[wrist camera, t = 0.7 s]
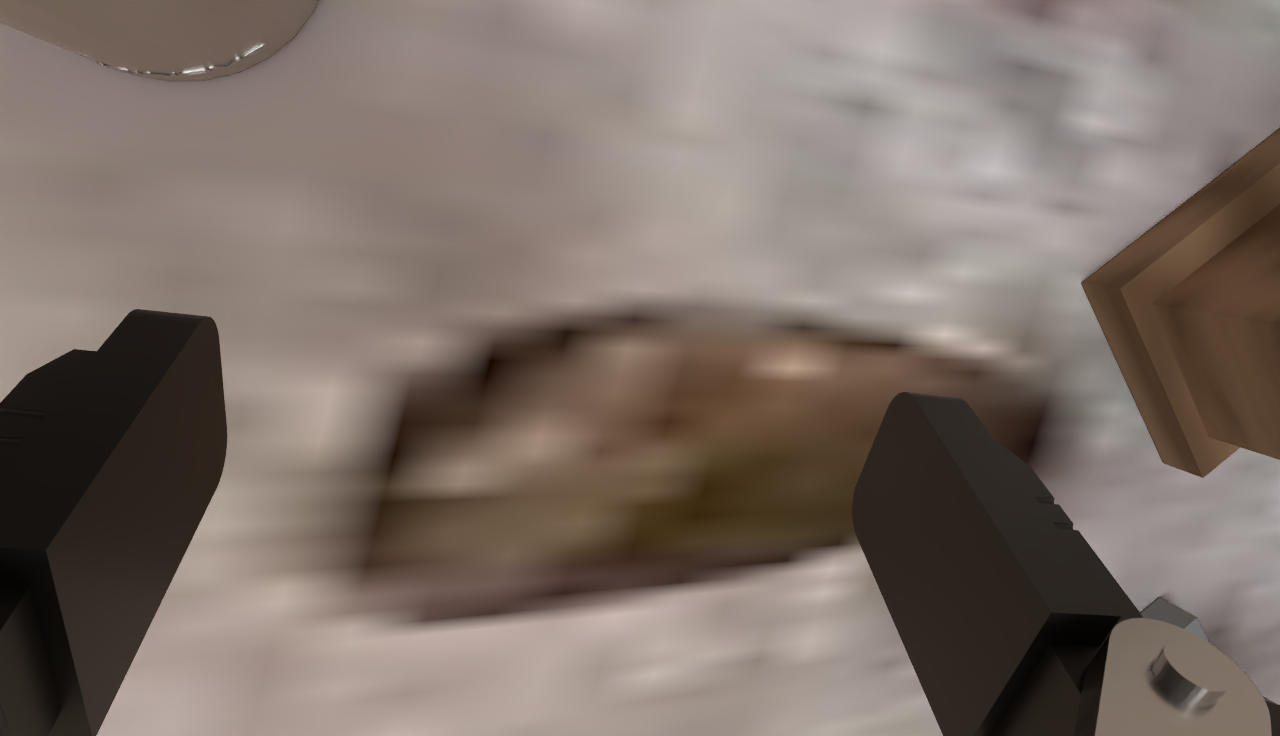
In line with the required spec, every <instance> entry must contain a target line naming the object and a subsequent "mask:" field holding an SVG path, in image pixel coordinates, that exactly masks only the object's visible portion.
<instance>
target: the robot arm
mask: <svg viewBox="0 0 1280 736" xmlns="http://www.w3.org/2000/svg"><path fill="white" fill-rule="evenodd" d="M317 3H318V0H0V23H2V24H5V25H7V26H10V27H12V28H15V29H17V30H20V31H22V32H25V33H27V34H30V35H32V36H35V37H37V38H40V39H42V40H45V41H47V42H49V43H52V44H54V45H57V46H59V47H62V48H64V49H67V50H69V51H72V52H74V53H77V54H80V55H82V56H85V57H87V58H90V59H92V60H95V61H97V63H98V64H100V65H103V66H106V67H109V68H113V69H117V70H120V71H124V72H127V73H129V74H133V75H138V76H144V77H149V78H155V79H161V80H166V81H192V80H208V79H213V78H217V77H221V76H225V75H230V74H234V73H238V72H241V71H243V70H245V69H247V68H249V67H251V66H253V65H255V64H257V63H259V62H261V61H263V60H265V59H267V58H269V57H270V56H272V55H273V54H274V53H275V52H277V51H278V50H279V49H280V48H281V47H283V46H284V45H285V44H286V43H288V42H289V41H290V40H291V39H292V38H294V37H295V35H296V34H297V33H298V31H299V30H300V29H301V27H302V26H303V25H304V23H305V22H306V21H307V19H308V18H309V17H310V15H311V14H312V13H313V12H314V9H315V7H316V5H317ZM226 448H227V424H226V413H225V402H224V390H223V379H222V367H221V356H220V344H219V335H218V330H217V326H216V323H215V322H214V320H213V319H212V318H211V317H206V316H197V315H188V314H178V313H169V312H159V311H150V310H140V309H136V310H133V311H131V312H130V313H129V314H128V315H127V316H126V317H125V318H124V320H123V321H122V322H121V323H120V324H119V326H118V327H117V328H116V329H115V330H114V332H113V333H112V334H111V335H110V336H109V338H108V339H107V340H106V341H105V342H104V344H103V345H102V346H101V347H100V348H99V350H98V351H86V350H76V349H74V350H72V351H70V352H68V353H66V354H64V355H62V356H60V357H59V358H57V359H55V360H53V361H51V362H49V363H47V364H45V365H44V366H42V367H40V368H38V369H36V370H34V371H32V372H30V373H29V374H27V375H26V376H25V377H24V378H23V379H22V380H21V381H20V382H19V383H18V384H17V386H16V387H15V388H14V389H13V390H12V391H11V392H10V393H9V394H8V395H7V396H6V397H5V399H4V400H3V401H2V402H1V403H0V736H96V735H97V733H98V731H99V729H100V727H101V725H102V723H103V721H104V719H105V717H106V714H107V712H108V710H109V708H110V706H111V704H112V702H113V700H114V698H115V696H116V694H117V692H118V690H119V688H120V686H121V684H122V682H123V680H124V677H125V675H126V673H127V671H128V669H129V667H130V665H131V663H132V661H133V659H134V657H135V655H136V653H137V651H138V649H139V647H140V645H141V643H142V640H143V638H144V636H145V634H146V632H147V630H148V628H149V626H150V624H151V622H152V620H153V618H154V616H155V614H156V612H157V610H158V608H159V605H160V603H161V601H162V599H163V597H164V595H165V593H166V591H167V589H168V587H169V585H170V583H171V581H172V579H173V577H174V575H175V573H176V571H177V568H178V566H179V564H180V562H181V560H182V558H183V556H184V554H185V552H186V550H187V548H188V546H189V544H190V542H191V540H192V538H193V536H194V534H195V531H196V529H197V527H198V525H199V523H200V521H201V519H202V517H203V515H204V513H205V511H206V509H207V507H208V505H209V503H210V501H211V499H212V496H213V494H214V492H215V490H216V488H217V486H218V484H219V481H220V478H221V475H222V471H223V467H224V462H225V456H226ZM852 517H853V525H854V530H855V533H856V536H857V538H858V541H859V543H860V545H861V548H862V550H863V552H864V554H865V557H866V559H867V561H868V564H869V566H870V568H871V571H872V573H873V575H874V577H875V580H876V582H877V584H878V587H879V589H880V591H881V594H882V596H883V598H884V600H885V603H886V605H887V607H888V610H889V612H890V614H891V617H892V619H893V621H894V623H895V626H896V628H897V630H898V633H899V635H900V637H901V640H902V642H903V644H904V646H905V649H906V651H907V653H908V656H909V658H910V660H911V663H912V665H913V667H914V669H915V672H916V674H917V676H918V679H919V681H920V683H921V686H922V688H923V690H924V692H925V695H926V697H927V699H928V702H929V704H930V706H931V709H932V711H933V713H934V715H935V718H936V720H937V722H938V725H939V727H940V729H941V732H942V734H943V736H1280V705H1277V704H1274V703H1271V702H1268V701H1265V700H1264V698H1263V696H1262V694H1261V693H1260V691H1259V689H1258V688H1257V686H1256V685H1255V684H1254V683H1253V681H1252V680H1251V679H1250V677H1249V676H1248V675H1247V674H1246V673H1245V672H1244V671H1243V670H1242V669H1241V668H1240V667H1239V666H1238V665H1237V664H1236V663H1235V662H1234V661H1232V660H1231V659H1230V658H1229V657H1228V656H1227V655H1225V654H1224V653H1223V652H1221V651H1220V650H1219V649H1217V648H1216V647H1215V646H1213V645H1212V644H1210V643H1209V642H1207V641H1205V640H1204V639H1202V638H1200V637H1199V636H1197V635H1195V634H1193V633H1191V632H1189V631H1187V630H1185V629H1182V628H1180V627H1178V626H1175V625H1172V624H1169V623H1166V622H1163V621H1159V620H1154V619H1147V618H1143V616H1142V615H1141V614H1140V612H1139V611H1138V610H1137V608H1136V607H1135V606H1134V604H1133V603H1132V602H1131V600H1130V599H1129V598H1128V596H1127V595H1126V594H1125V592H1124V591H1123V590H1122V588H1121V587H1120V586H1119V584H1118V583H1117V582H1116V580H1115V579H1114V578H1113V576H1112V575H1111V574H1110V572H1109V571H1108V570H1107V568H1106V567H1105V566H1104V564H1103V563H1102V562H1101V560H1100V559H1099V558H1098V556H1097V555H1096V554H1095V552H1094V551H1093V550H1092V548H1091V547H1090V546H1089V544H1088V543H1087V541H1086V540H1085V539H1084V537H1083V536H1082V535H1081V533H1080V532H1079V531H1078V530H1073V523H1072V521H1071V520H1070V519H1069V517H1068V516H1067V515H1066V513H1065V512H1064V511H1063V509H1062V508H1061V507H1060V505H1056V504H1054V497H1053V496H1052V495H1051V493H1050V492H1049V491H1048V489H1047V488H1046V487H1045V485H1044V484H1043V483H1042V481H1041V480H1040V479H1039V477H1038V476H1037V475H1036V473H1035V472H1034V471H1033V469H1032V468H1031V467H1030V466H1028V465H1027V464H1026V463H1025V462H1023V461H1022V460H1021V459H1020V458H1018V457H1017V456H1016V455H1015V454H1013V453H1012V452H1011V451H1010V450H1008V449H1007V448H1006V447H1005V446H1003V445H1002V444H1001V443H1000V442H998V441H997V440H994V439H993V438H992V437H991V435H990V434H989V433H988V431H987V430H986V428H985V427H984V426H983V424H982V423H981V421H980V420H979V419H978V417H977V416H976V415H975V413H974V412H973V410H972V409H971V408H970V406H969V405H968V404H967V403H966V401H964V400H963V399H961V398H958V397H948V396H939V395H929V394H920V393H910V392H902V393H899V394H898V395H896V396H895V397H894V398H893V400H892V401H891V403H890V404H889V406H888V409H887V411H886V413H885V416H884V418H883V421H882V423H881V426H880V428H879V430H878V433H877V435H876V438H875V440H874V443H873V445H872V448H871V450H870V452H869V455H868V457H867V460H866V462H865V465H864V467H863V470H862V472H861V474H860V477H859V479H858V482H857V485H856V487H855V491H854V496H853V504H852Z"/></svg>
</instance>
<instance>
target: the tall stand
mask: <svg viewBox="0 0 1280 736" xmlns="http://www.w3.org/2000/svg"><path fill="white" fill-rule="evenodd" d="M1082 286H1083V288H1084V290H1085V292H1086V294H1087V296H1088V299H1089V301H1090V303H1091V305H1092V307H1093V310H1094V312H1095V314H1096V316H1097V318H1098V321H1099V323H1100V325H1101V327H1102V329H1103V331H1104V334H1105V336H1106V338H1107V340H1108V342H1109V345H1110V347H1111V349H1112V351H1113V353H1114V356H1115V358H1116V360H1117V362H1118V364H1119V366H1120V369H1121V371H1122V373H1123V375H1124V377H1125V380H1126V382H1127V384H1128V386H1129V388H1130V391H1131V393H1132V395H1133V397H1134V399H1135V401H1136V404H1137V406H1138V408H1139V410H1140V412H1141V415H1142V417H1143V419H1144V421H1145V423H1146V426H1147V428H1148V430H1149V432H1150V434H1151V436H1152V439H1153V441H1154V443H1155V445H1156V447H1157V450H1158V452H1159V454H1160V456H1161V458H1162V461H1163V463H1164V464H1167V465H1170V466H1172V467H1175V468H1178V469H1181V470H1183V471H1186V472H1189V473H1192V474H1194V475H1197V476H1200V477H1203V478H1204V477H1205V476H1206V475H1207V474H1208V473H1210V472H1211V471H1212V470H1213V469H1215V468H1216V467H1217V466H1218V465H1219V464H1221V463H1222V462H1223V461H1224V460H1225V459H1227V458H1228V457H1229V456H1230V455H1231V454H1233V453H1234V452H1235V451H1236V450H1238V449H1239V448H1240V447H1241V448H1245V449H1248V450H1251V451H1254V452H1257V453H1261V454H1264V455H1267V456H1270V457H1273V458H1276V459H1280V129H1279V130H1277V131H1276V132H1275V133H1273V134H1272V135H1271V136H1270V137H1268V138H1267V139H1266V140H1264V141H1263V142H1262V143H1261V144H1259V145H1258V146H1257V147H1255V148H1254V149H1253V150H1252V151H1250V152H1249V153H1248V154H1246V155H1245V156H1244V157H1243V158H1241V159H1240V160H1239V161H1237V162H1236V163H1235V164H1234V165H1232V166H1231V167H1230V168H1229V169H1227V170H1226V171H1225V172H1223V173H1222V174H1221V175H1220V176H1218V177H1217V178H1216V179H1214V180H1213V181H1212V182H1211V183H1209V184H1208V185H1207V186H1205V187H1204V188H1203V189H1202V190H1200V191H1199V192H1198V193H1196V194H1195V195H1194V196H1193V197H1191V198H1190V199H1189V200H1187V201H1186V202H1185V203H1184V204H1182V205H1181V206H1180V207H1178V208H1177V209H1176V210H1175V211H1173V212H1172V213H1171V214H1170V215H1168V216H1167V217H1166V218H1164V219H1163V220H1162V221H1161V222H1159V223H1158V224H1157V225H1155V226H1154V227H1153V228H1152V229H1150V230H1149V231H1148V232H1146V233H1145V234H1144V235H1143V236H1141V237H1140V238H1139V239H1137V240H1136V241H1135V242H1134V243H1132V244H1131V245H1130V246H1128V247H1127V248H1126V249H1125V250H1123V251H1122V252H1121V253H1119V254H1118V255H1117V256H1116V257H1114V258H1113V259H1112V260H1110V261H1109V262H1108V263H1107V264H1105V265H1104V266H1103V267H1102V268H1100V269H1099V270H1098V271H1096V272H1095V273H1094V274H1093V275H1091V276H1090V277H1089V278H1087V279H1086V280H1085V281H1084V282H1082Z"/></svg>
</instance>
